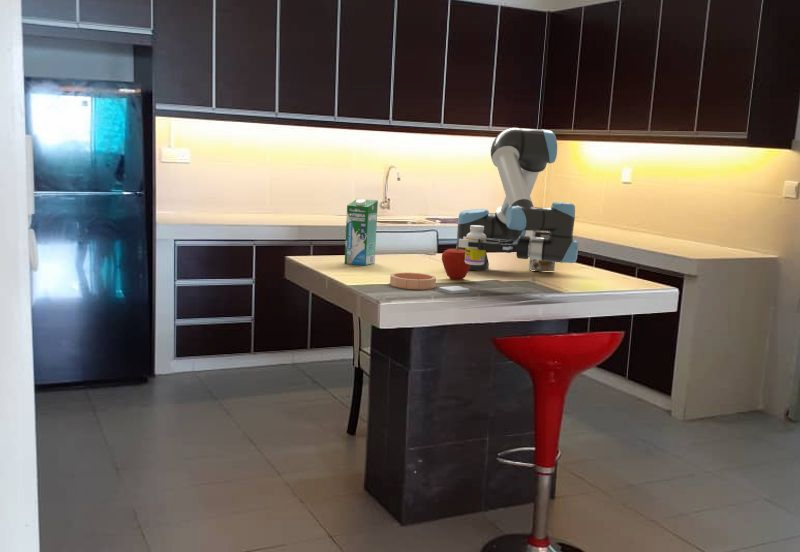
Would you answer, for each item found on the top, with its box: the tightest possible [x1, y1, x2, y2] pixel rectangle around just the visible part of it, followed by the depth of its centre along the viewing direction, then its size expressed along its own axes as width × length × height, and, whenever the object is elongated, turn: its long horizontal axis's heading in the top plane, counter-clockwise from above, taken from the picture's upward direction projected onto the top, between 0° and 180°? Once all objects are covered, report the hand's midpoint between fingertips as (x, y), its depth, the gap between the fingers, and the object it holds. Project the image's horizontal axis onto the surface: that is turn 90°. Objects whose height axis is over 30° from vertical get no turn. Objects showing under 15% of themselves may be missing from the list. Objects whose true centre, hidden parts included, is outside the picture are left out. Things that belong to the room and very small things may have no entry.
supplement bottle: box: [465, 225, 486, 265], centre depth 258 cm, size 7×7×13 cm
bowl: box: [389, 272, 437, 290], centre depth 256 cm, size 15×15×4 cm
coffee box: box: [528, 231, 556, 272], centre depth 308 cm, size 9×6×16 cm
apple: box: [441, 247, 471, 281], centre depth 274 cm, size 11×11×12 cm
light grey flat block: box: [438, 285, 471, 295], centre depth 249 cm, size 8×6×1 cm
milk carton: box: [344, 198, 379, 266], centre depth 302 cm, size 9×9×25 cm
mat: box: [430, 288, 477, 296], centre depth 249 cm, size 12×9×1 cm
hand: (461, 241), depth 260 cm, fingers closed on supplement bottle, 7 cm apart
